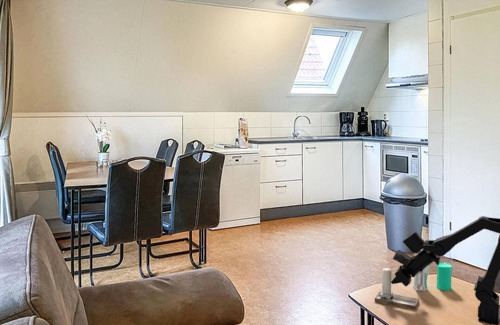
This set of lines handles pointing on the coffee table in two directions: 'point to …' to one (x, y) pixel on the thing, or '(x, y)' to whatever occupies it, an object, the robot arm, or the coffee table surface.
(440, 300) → the coffee table surface
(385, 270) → the tuning slider
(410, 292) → the coffee table surface
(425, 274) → the beer glass
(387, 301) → the board
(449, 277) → the candle
